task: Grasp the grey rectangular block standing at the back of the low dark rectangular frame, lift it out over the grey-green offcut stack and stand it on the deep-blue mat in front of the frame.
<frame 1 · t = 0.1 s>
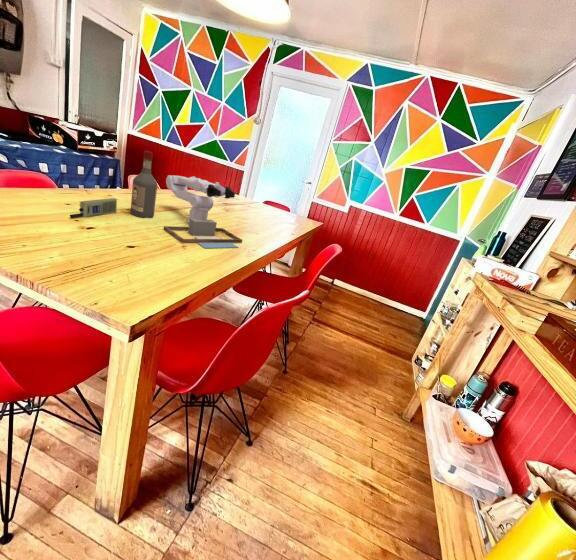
hand: (227, 194, 146), 22 cm above the table, tool horizontal, fingers open, 7 cm apart
offcut stack: (209, 241, 149), on the table
blue mat: (218, 245, 144), on the table
grey rectangular block: (201, 234, 153), on the table
liquor: (142, 215, 157), on the table
dark rectangular frame: (204, 236, 152), on the table
handheld radio: (94, 216, 139), on the table
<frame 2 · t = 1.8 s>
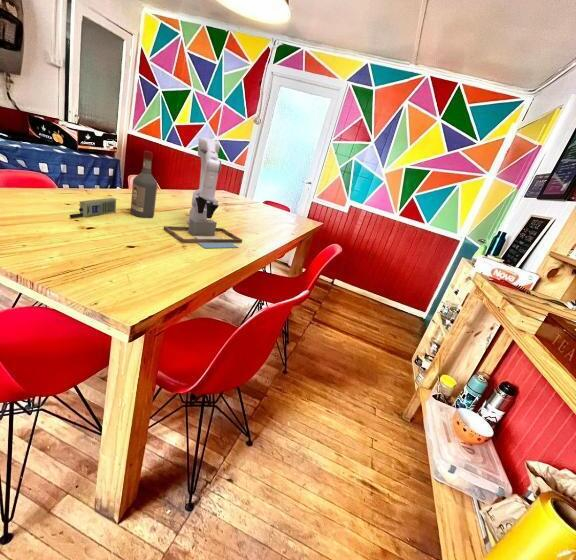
hand: (204, 215, 150), 9 cm above the table, tool pointing down, fingers open, 7 cm apart
nothing on the table moved.
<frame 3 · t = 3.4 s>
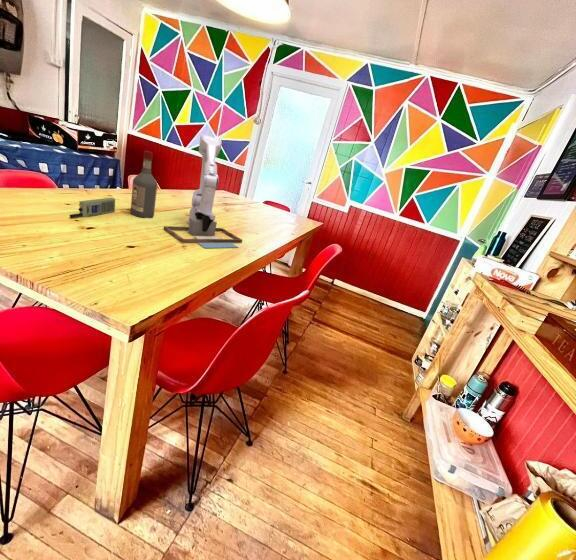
hand: (202, 229, 152), 2 cm above the table, tool pointing down, fingers closed on grey rectangular block, 4 cm apart
grey rectangular block: (201, 234, 153), on the table, touching gripper
everything else where it was.
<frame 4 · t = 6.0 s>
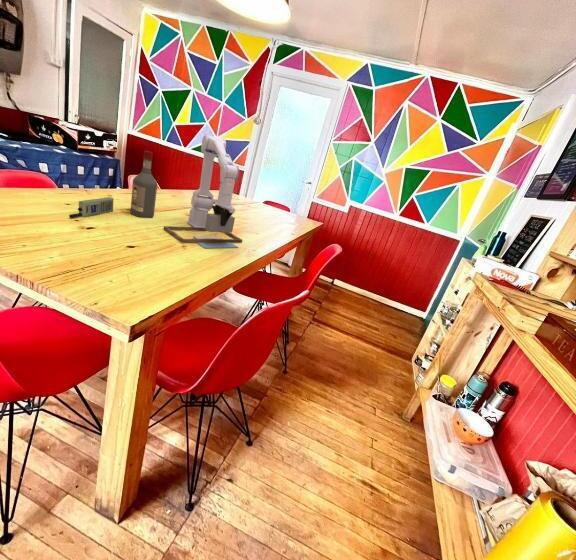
hand: (219, 224, 142), 10 cm above the table, tool pointing down, fingers closed on grey rectangular block, 4 cm apart
grey rectangular block: (218, 230, 143), point 6 cm above the table, touching gripper
everything else where it was.
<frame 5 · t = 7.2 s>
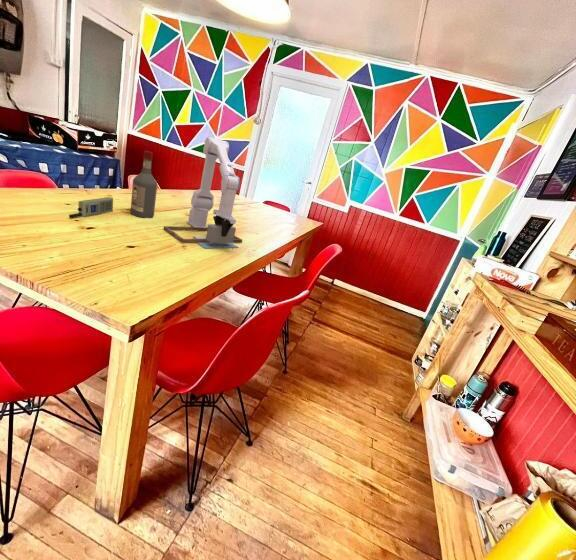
hand: (220, 234, 143), 5 cm above the table, tool pointing down, fingers closed on grey rectangular block, 4 cm apart
grey rectangular block: (219, 241, 144), point 2 cm above the table, touching gripper
everything else where it was.
when the fingers open (4 cm above the table, at t = 8.4 s): grey rectangular block stays where it is, resting on blue mat.
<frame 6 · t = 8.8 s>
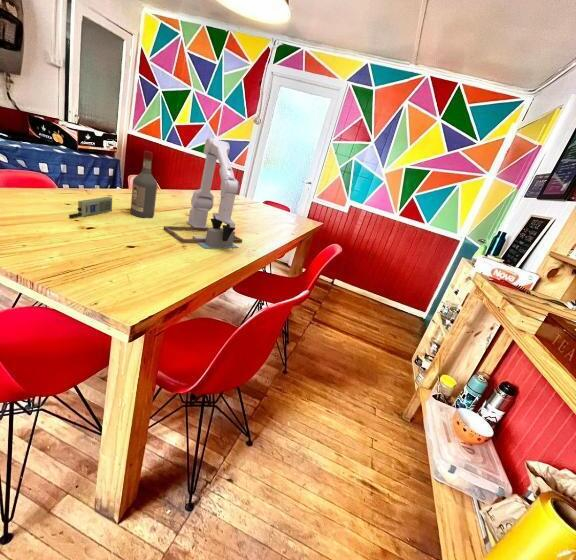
hand: (220, 237, 143), 4 cm above the table, tool pointing down, fingers open, 7 cm apart
grey rectangular block: (218, 245, 144), resting on blue mat
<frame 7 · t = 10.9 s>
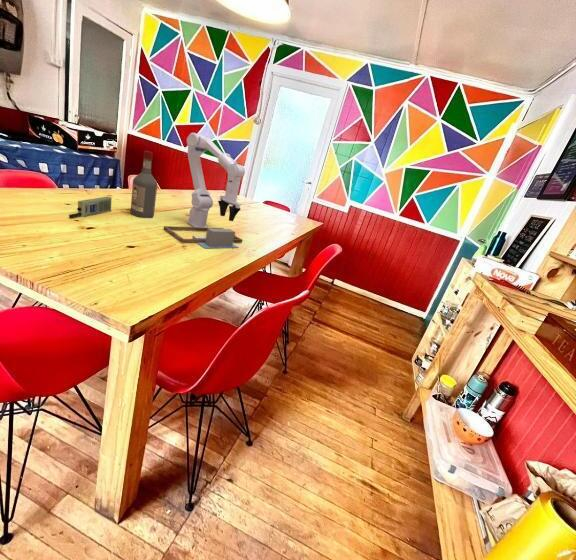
hand: (226, 218, 157), 9 cm above the table, tool pointing down, fingers open, 7 cm apart
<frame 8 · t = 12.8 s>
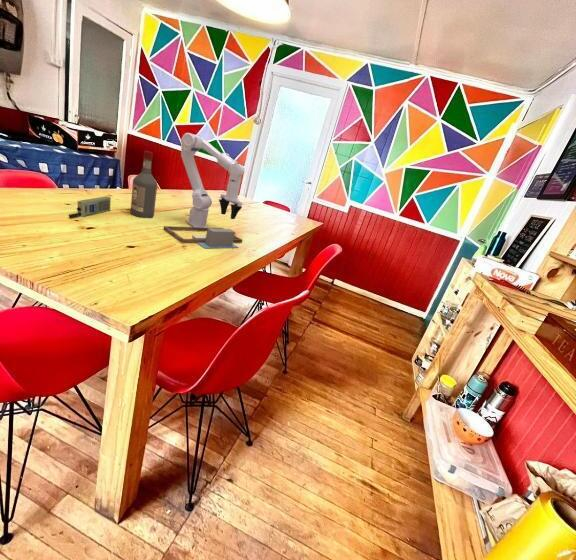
hand: (227, 216, 161), 9 cm above the table, tool pointing down, fingers open, 7 cm apart
at the end: grey rectangular block 0.0 cm from the target spot, resting on blue mat; grey rectangular block tilted 0°; the gripper is holding nothing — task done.
